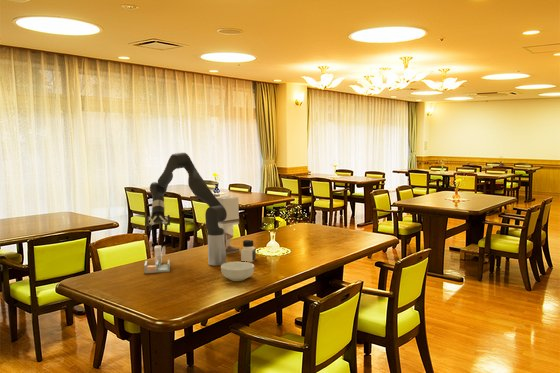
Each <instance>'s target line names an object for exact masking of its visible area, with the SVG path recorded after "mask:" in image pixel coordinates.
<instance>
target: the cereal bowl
mask: <svg viewBox="0 0 560 373" xmlns="http://www.w3.org/2000/svg"><path fill="white" fill-rule="evenodd" d="M220 271H221V274H222V277H223V276H224V278H226V279H228V280H230V281H233V282H242V281H245V280H246V279H247V278H250V277H251V276H252V275H253V274H254V271H255V264H253V262H241V261H228V262H226V263H224V264H222V265H220Z"/></svg>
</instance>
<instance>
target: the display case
mask: <svg viewBox="0 0 560 373" xmlns="http://www.w3.org/2000/svg"><path fill="white" fill-rule="evenodd" d="M215 197H216V198H217V200H218V201H219V202H220V203H221V204H222V205H223V207H224V208H225V210H226V212H227V217H226V219H225V220H224V221H220V222H218V226H219V227H220V228H223V229H224V247H226V255H230V254H234V252H235V253H239V252H240V248H239V247H236V246H232V245H231V240H232V239H233V238H234V226H236V225H240V216H239V215H240V214H239V212H240V210H239V209H240V208H239V205H240V204H239V201H240V200H239V196H237V197H236V196H234V197H230V195H223V196H222V195H221V196H215Z"/></svg>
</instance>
